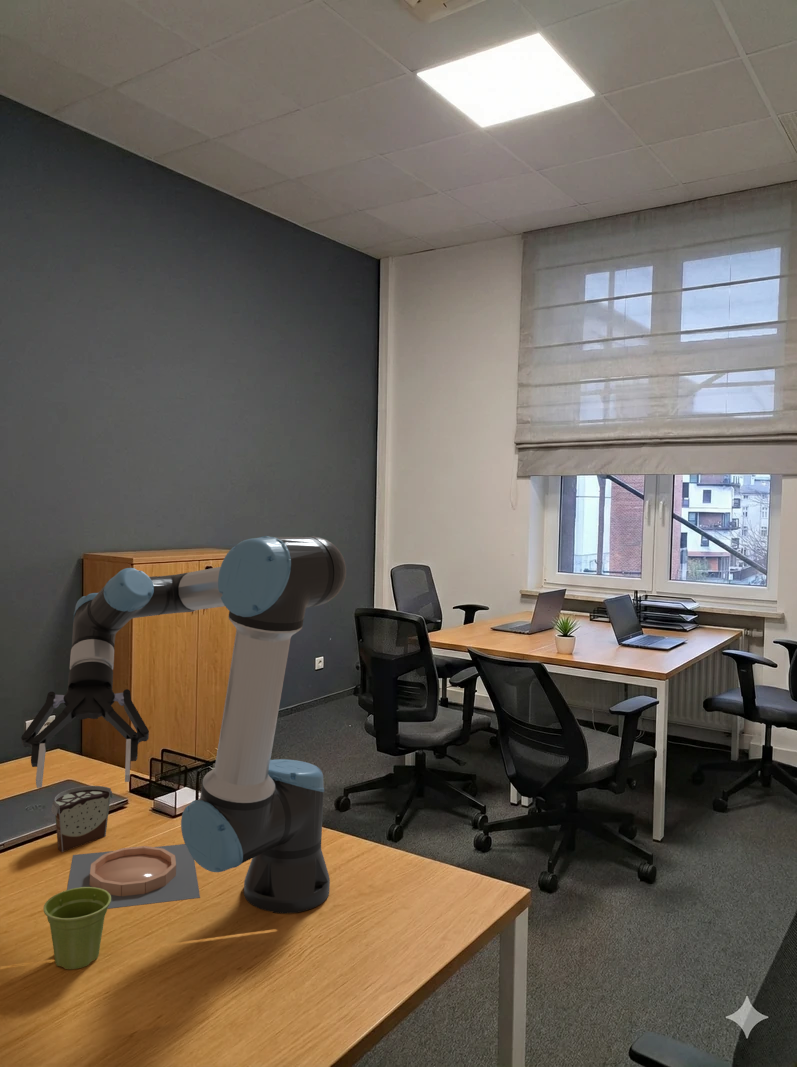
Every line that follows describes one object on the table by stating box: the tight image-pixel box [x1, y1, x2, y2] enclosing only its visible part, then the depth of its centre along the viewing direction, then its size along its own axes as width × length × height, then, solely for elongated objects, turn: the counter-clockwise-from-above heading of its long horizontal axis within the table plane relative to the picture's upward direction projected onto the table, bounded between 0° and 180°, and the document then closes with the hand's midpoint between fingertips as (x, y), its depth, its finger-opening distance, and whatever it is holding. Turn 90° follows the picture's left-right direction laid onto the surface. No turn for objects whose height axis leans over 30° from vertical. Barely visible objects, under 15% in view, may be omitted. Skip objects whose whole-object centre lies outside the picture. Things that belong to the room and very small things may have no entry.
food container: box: [51, 785, 114, 853], centre depth 157 cm, size 12×6×10 cm, turn 144°
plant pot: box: [43, 887, 111, 970], centre depth 118 cm, size 9×9×9 cm
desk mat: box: [66, 843, 201, 910], centre depth 143 cm, size 22×22×1 cm
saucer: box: [90, 845, 176, 896], centre depth 143 cm, size 15×15×2 cm
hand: (83, 781), depth 130 cm, fingers open, 13 cm apart
